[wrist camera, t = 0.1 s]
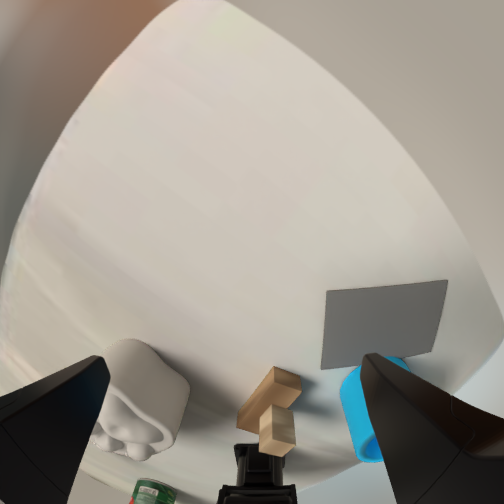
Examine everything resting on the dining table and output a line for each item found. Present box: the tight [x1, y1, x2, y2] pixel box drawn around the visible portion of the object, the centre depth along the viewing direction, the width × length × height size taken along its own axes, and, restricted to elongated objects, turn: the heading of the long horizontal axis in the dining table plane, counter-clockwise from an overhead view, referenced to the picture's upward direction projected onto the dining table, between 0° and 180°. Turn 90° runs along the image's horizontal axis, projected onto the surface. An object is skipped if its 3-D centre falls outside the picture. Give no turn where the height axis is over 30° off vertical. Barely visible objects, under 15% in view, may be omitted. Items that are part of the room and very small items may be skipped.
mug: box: [340, 356, 411, 463], centre depth 22 cm, size 12×8×8 cm
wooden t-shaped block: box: [236, 366, 302, 457], centre depth 23 cm, size 4×8×7 cm, turn 153°
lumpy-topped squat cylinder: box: [89, 339, 190, 461], centre depth 23 cm, size 10×13×9 cm
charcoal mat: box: [321, 280, 448, 370], centre depth 24 cm, size 8×13×1 cm, turn 93°
